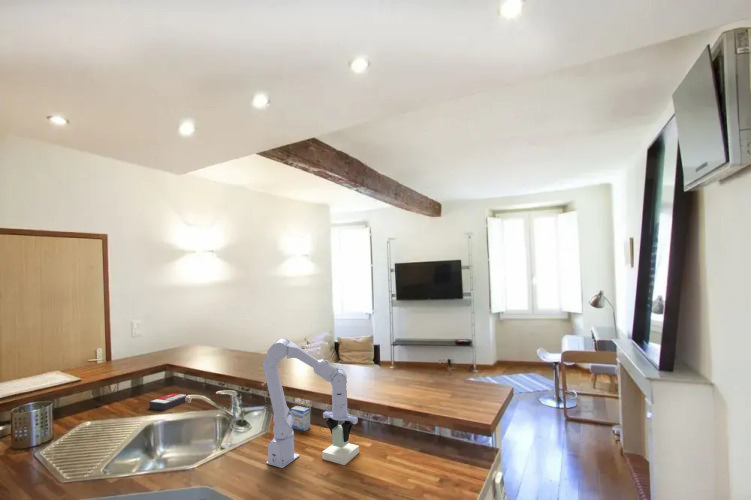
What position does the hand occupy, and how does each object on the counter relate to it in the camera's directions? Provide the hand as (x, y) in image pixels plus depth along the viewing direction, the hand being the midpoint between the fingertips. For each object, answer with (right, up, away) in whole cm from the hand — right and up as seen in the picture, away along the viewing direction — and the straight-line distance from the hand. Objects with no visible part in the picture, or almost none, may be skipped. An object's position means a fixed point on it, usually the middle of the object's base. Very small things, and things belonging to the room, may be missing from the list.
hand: (340, 439), depth 138 cm
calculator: (-99, -12, +59) cm, 116 cm away
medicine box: (-20, -8, +25) cm, 33 cm away
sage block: (0, -2, 0) cm, 2 cm away
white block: (0, -6, 0) cm, 6 cm away
